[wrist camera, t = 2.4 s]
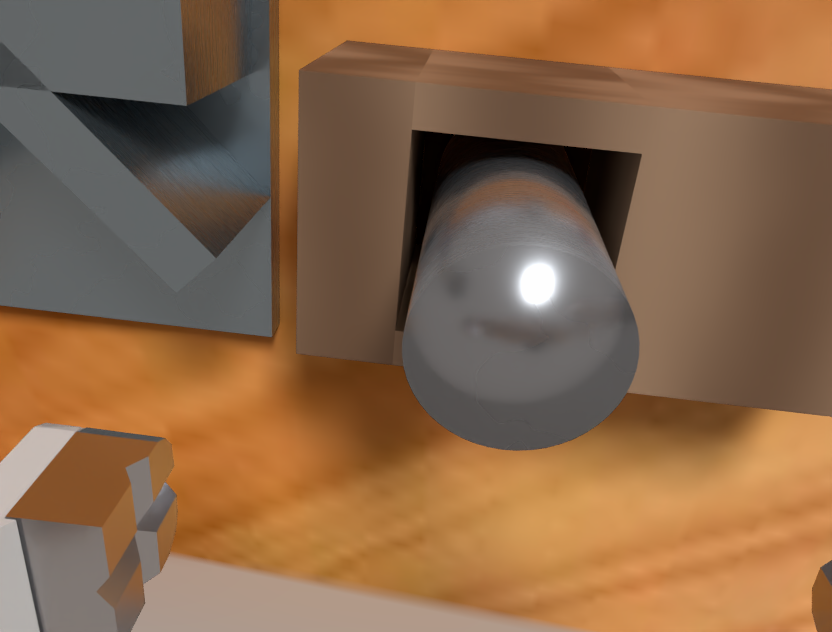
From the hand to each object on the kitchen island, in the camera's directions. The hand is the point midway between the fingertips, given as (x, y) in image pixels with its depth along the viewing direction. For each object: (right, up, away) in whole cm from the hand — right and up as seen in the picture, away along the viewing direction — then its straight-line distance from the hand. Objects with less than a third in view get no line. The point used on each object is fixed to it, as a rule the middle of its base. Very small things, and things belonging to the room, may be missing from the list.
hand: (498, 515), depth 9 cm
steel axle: (+2, +7, +13) cm, 15 cm away
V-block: (-11, +8, +14) cm, 19 cm away
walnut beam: (+5, +6, +13) cm, 15 cm away
